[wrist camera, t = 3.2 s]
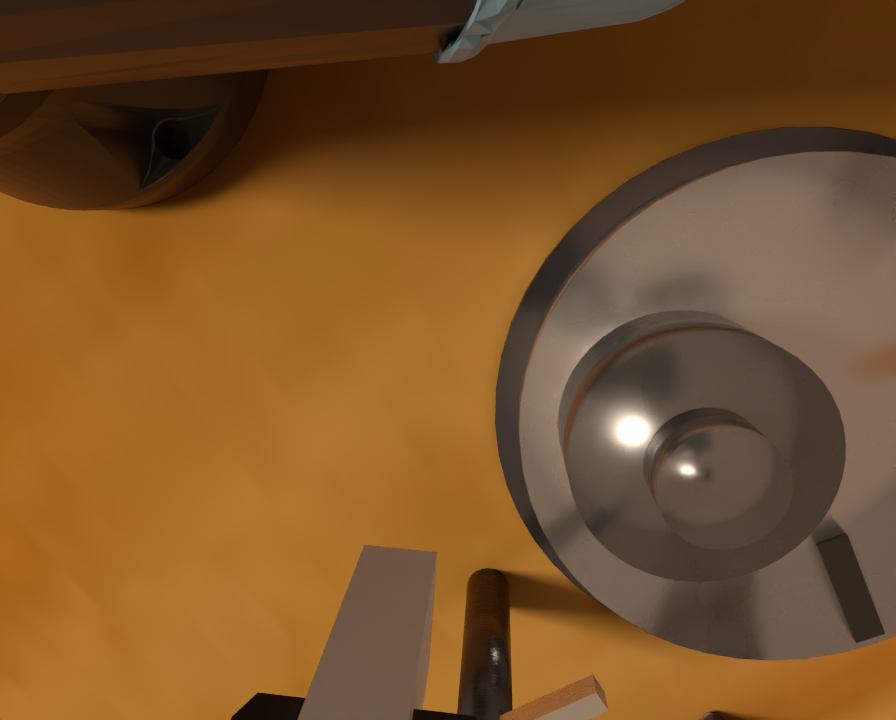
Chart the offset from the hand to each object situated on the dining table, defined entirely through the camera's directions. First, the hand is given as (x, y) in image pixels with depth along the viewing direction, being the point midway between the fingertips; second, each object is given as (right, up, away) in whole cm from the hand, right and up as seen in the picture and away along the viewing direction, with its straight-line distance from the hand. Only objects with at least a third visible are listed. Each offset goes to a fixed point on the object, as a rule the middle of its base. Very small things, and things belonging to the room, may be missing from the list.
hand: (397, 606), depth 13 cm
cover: (+10, +3, +12) cm, 16 cm away
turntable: (+15, +3, +14) cm, 20 cm away
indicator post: (+4, -5, +17) cm, 18 cm away
